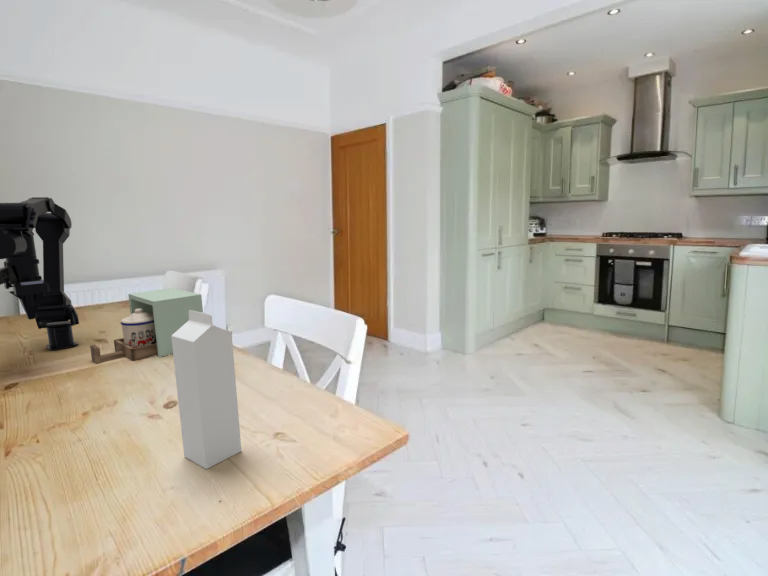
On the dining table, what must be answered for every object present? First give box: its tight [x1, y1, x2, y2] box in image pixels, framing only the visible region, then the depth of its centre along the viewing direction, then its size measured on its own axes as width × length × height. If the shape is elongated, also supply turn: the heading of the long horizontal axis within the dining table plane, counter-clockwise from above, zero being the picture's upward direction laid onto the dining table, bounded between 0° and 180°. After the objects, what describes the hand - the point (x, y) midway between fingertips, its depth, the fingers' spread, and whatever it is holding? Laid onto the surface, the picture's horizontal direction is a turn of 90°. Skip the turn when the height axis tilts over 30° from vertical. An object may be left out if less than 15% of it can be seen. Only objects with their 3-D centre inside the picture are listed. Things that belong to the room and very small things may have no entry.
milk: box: [171, 310, 242, 470], centre depth 64 cm, size 6×6×22 cm
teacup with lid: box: [120, 309, 157, 348], centre depth 120 cm, size 12×9×12 cm
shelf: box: [127, 287, 204, 358], centre depth 123 cm, size 19×12×15 cm, turn 47°
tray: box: [89, 337, 158, 365], centre depth 119 cm, size 14×23×4 cm, turn 137°
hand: (31, 319), depth 107 cm, fingers closed
